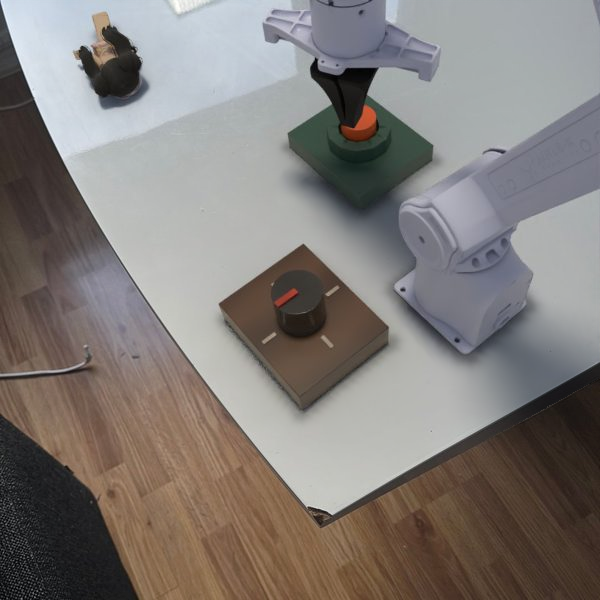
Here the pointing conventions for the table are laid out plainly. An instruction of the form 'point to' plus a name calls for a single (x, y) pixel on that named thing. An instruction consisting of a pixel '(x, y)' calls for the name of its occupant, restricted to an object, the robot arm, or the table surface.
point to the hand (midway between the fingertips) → (351, 119)
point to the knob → (299, 302)
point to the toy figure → (111, 61)
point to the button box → (361, 153)
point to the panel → (313, 348)
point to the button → (362, 127)
